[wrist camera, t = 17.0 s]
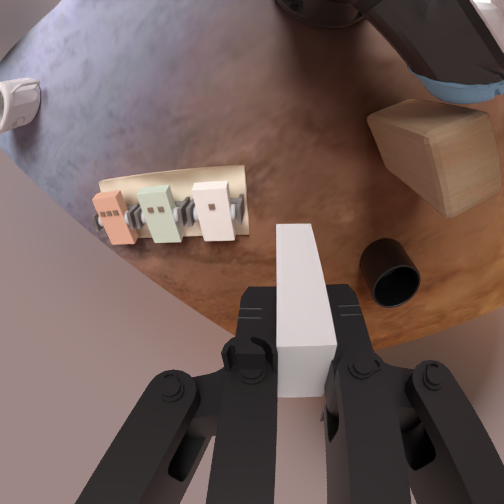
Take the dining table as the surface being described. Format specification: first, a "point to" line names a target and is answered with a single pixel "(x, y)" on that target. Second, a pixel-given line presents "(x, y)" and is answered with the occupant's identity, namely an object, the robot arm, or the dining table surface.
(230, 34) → the dining table surface
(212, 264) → the dining table surface
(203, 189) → the key one
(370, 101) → the dining table surface
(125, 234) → the key three
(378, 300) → the mug
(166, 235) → the key two
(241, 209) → the pastel toggle block board
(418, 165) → the wooden block
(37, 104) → the mug
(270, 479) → the robot arm
